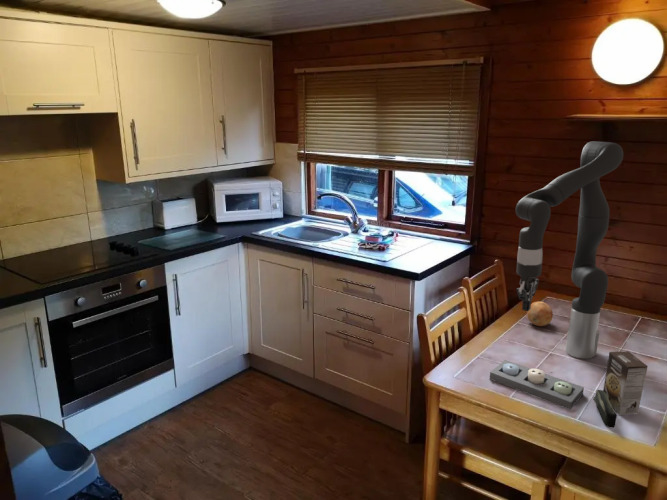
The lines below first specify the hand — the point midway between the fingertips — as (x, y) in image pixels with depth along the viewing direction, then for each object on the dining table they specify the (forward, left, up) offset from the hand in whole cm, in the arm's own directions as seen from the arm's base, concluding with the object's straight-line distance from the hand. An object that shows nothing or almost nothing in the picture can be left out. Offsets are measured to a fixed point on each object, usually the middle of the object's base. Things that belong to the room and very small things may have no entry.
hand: (526, 310), depth 172 cm
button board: (-1, +10, -22) cm, 25 cm away
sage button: (-7, +16, -21) cm, 28 cm away
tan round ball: (-21, -35, -22) cm, 46 cm away
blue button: (+5, +4, -21) cm, 22 cm away
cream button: (-1, +10, -20) cm, 23 cm away
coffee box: (-22, +22, -22) cm, 39 cm away
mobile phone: (-15, +26, -23) cm, 37 cm away
